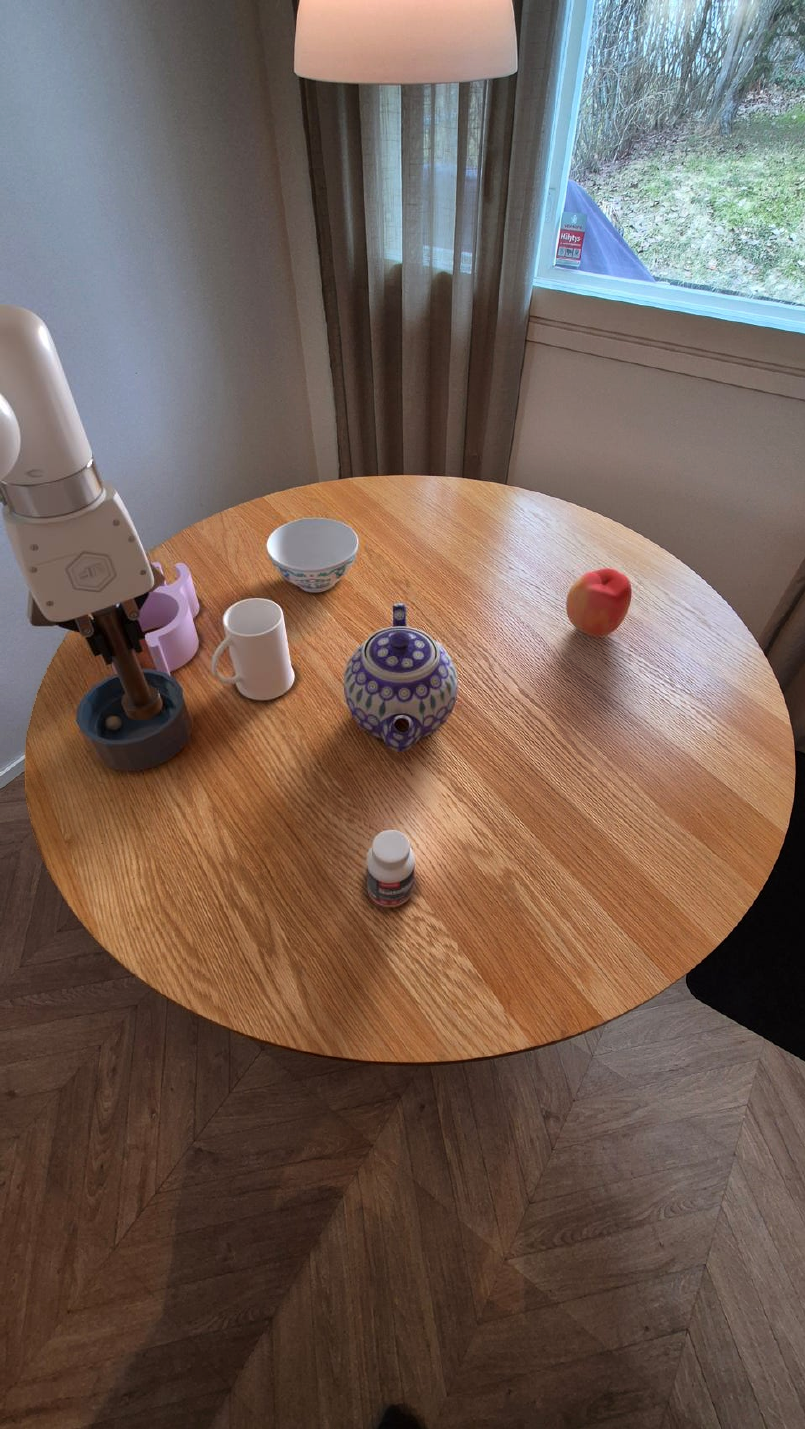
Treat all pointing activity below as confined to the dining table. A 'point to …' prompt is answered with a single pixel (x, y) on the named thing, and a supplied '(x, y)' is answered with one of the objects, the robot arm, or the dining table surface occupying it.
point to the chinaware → (313, 552)
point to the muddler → (127, 666)
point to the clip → (171, 621)
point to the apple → (599, 602)
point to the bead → (113, 723)
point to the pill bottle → (390, 869)
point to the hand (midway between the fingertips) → (120, 649)
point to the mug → (256, 649)
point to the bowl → (134, 724)
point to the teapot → (400, 683)
